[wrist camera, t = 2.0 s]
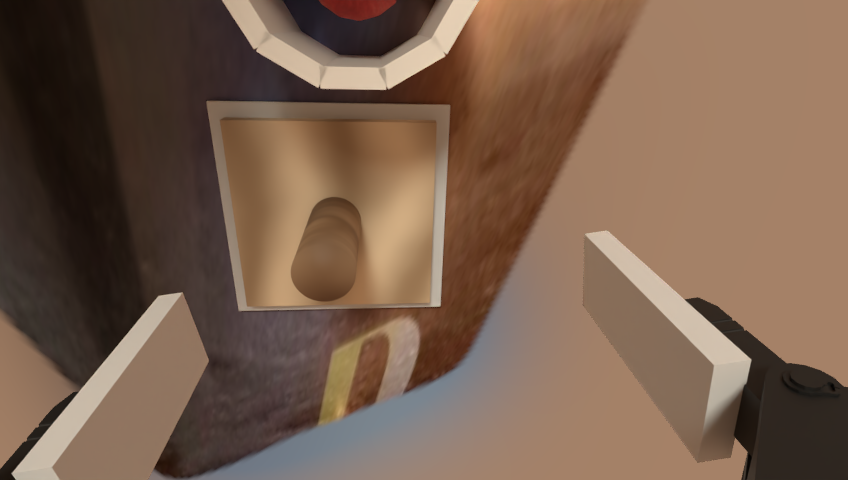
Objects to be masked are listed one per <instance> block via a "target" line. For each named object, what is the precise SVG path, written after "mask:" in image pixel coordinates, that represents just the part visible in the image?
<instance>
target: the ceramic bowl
mask: <svg viewBox="0 0 848 480" xmlns="http://www.w3.org/2000/svg"><path fill="white" fill-rule="evenodd" d="M222 1H223V3H224V4H225V6H226V7H227V9H228V10H229V12H230V13H231V15H232V16H233V18H234V20H235V21H236V23H237V24H238V26H239V27H240V29H241V30H242V32H243V33H244V35H245V36H246V38H247V39H248V41H249V43H250V44H251V46H252V47H253V49H257V50H256V52H258V53H260V54H261V55H263V56H265V57H266V58H268V59H270V60H272V61H273V62H275V63H277V64H278V65H280V66H282V67H283V68H285V69H287V70H288V71H290V72H292V73H294V74H295V75H297V76H299V77H300V78H302V79H304V80H305V81H307V82H309V83H310V84H312V85H314V86H316V87H317V88H319V87H320V89H362V90H386V86H387V88H388V89H390V88H392V87H393V86H395V85H397V84H398V83H400V82H402V81H404V80H405V79H407V78H409V77H410V76H412V75H414V74H416V73H417V72H419V71H421V70H423V69H424V68H426V67H428V66H429V65H431V64H433V63H435V62H436V61H438V60H440V59H441V58H443V57H445V54H448V52H449V50H450V49H451V47H452V45H453V44H454V42H455V40H456V39H457V37H458V35H459V33H460V32H461V30H462V28H463V27H464V25H465V23H466V22H467V20H468V18H469V16H470V15H471V13H472V11H473V10H474V8H475V6H476V4H477V3H478V1H479V0H436V2H435V3H434V5H433V7H432V9H431V10H430V12H429V14H428V16H427V18H426V19H425V21H424V23H423V25H422V27H421V28H420V30H419V32H418V34H417V35H416V36H414V37H412V38H411V39H409V40H407V41H406V42H404V43H402V44H400V45H399V46H397V47H395V48H394V49H392V50H390V51H389V52H387V53H385V54H384V55H382V56H361V55H339V54H337V53H336V52H334V51H332V50H331V49H329V48H328V47H326V46H324V45H323V44H321V43H319V42H318V41H316V40H315V39H313V38H311V37H310V36H308V35H307V34H305V33H303V32H302V31H301V30H300V28H299V26H298V25H297V23H296V21H295V20H294V18H293V16H292V15H291V13H290V11H289V10H288V8H287V6H286V5H285V3H284V1H283V0H222ZM444 53H445V54H444Z"/></svg>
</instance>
